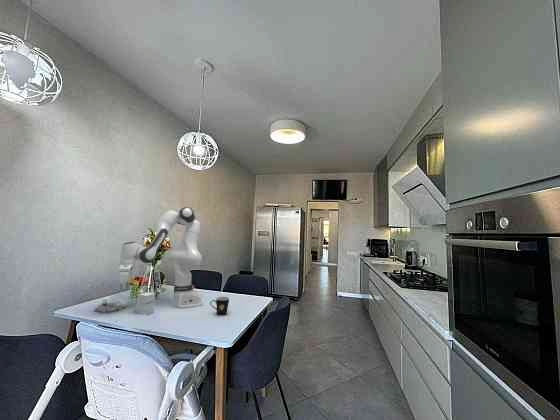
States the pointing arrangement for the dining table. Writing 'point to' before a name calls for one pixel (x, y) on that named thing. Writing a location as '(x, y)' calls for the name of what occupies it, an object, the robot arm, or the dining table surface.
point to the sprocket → (110, 307)
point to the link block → (126, 287)
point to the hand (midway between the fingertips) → (125, 287)
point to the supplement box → (145, 303)
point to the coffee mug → (221, 305)
